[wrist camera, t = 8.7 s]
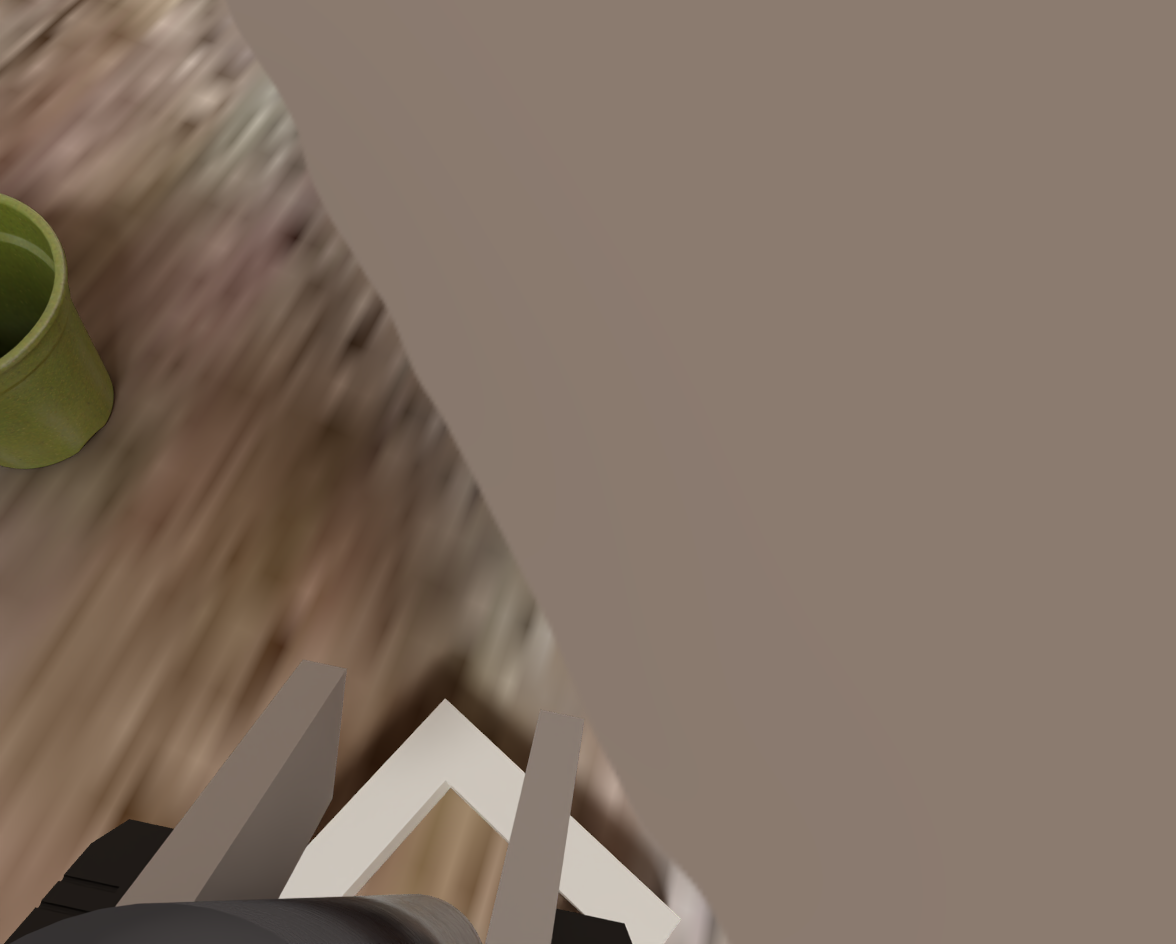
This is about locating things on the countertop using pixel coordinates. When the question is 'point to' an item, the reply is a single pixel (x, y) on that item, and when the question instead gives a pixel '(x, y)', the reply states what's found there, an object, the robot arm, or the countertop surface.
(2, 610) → the countertop surface
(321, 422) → the countertop surface
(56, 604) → the countertop surface
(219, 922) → the rod
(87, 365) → the plant pot
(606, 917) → the block
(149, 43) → the countertop surface
